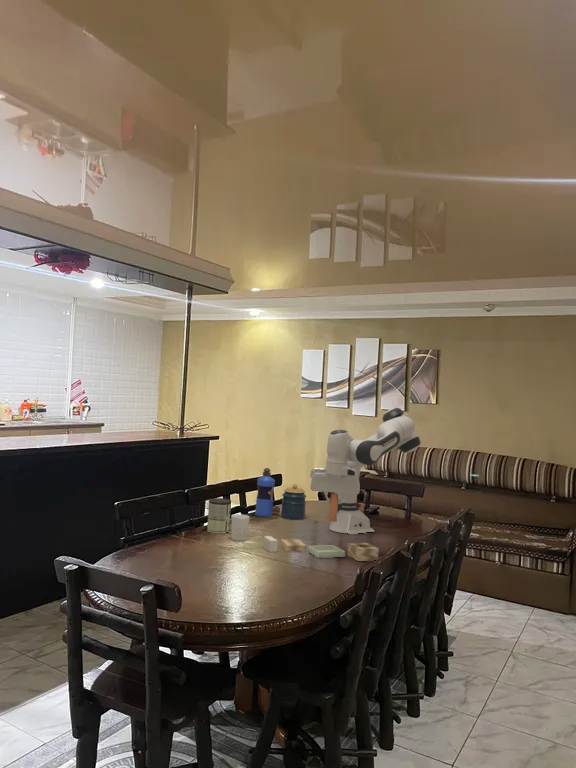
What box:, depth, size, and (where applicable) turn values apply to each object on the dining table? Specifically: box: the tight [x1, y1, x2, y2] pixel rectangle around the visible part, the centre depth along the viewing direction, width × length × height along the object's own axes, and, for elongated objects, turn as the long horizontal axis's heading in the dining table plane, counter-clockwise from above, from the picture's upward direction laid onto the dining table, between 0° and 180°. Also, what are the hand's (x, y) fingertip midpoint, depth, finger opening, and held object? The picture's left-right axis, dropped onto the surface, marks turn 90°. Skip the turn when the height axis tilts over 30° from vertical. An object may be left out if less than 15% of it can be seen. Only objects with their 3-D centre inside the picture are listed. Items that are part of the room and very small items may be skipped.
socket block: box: [346, 542, 380, 562], centre depth 235 cm, size 9×9×5 cm
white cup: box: [230, 513, 251, 542], centre depth 253 cm, size 8×8×10 cm
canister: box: [280, 484, 307, 521], centre depth 309 cm, size 13×13×18 cm
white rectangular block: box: [262, 535, 278, 553], centre depth 239 cm, size 3×8×4 cm, turn 23°
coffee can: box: [206, 497, 232, 534], centre depth 266 cm, size 10×10×14 cm
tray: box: [307, 544, 346, 559], centre depth 237 cm, size 12×10×2 cm
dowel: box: [328, 492, 339, 523], centre depth 237 cm, size 3×3×11 cm
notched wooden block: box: [280, 539, 307, 552], centre depth 243 cm, size 8×10×3 cm
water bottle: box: [255, 467, 276, 518], centre depth 311 cm, size 9×9×25 cm
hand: (333, 503), depth 237 cm, fingers closed on dowel, 3 cm apart
